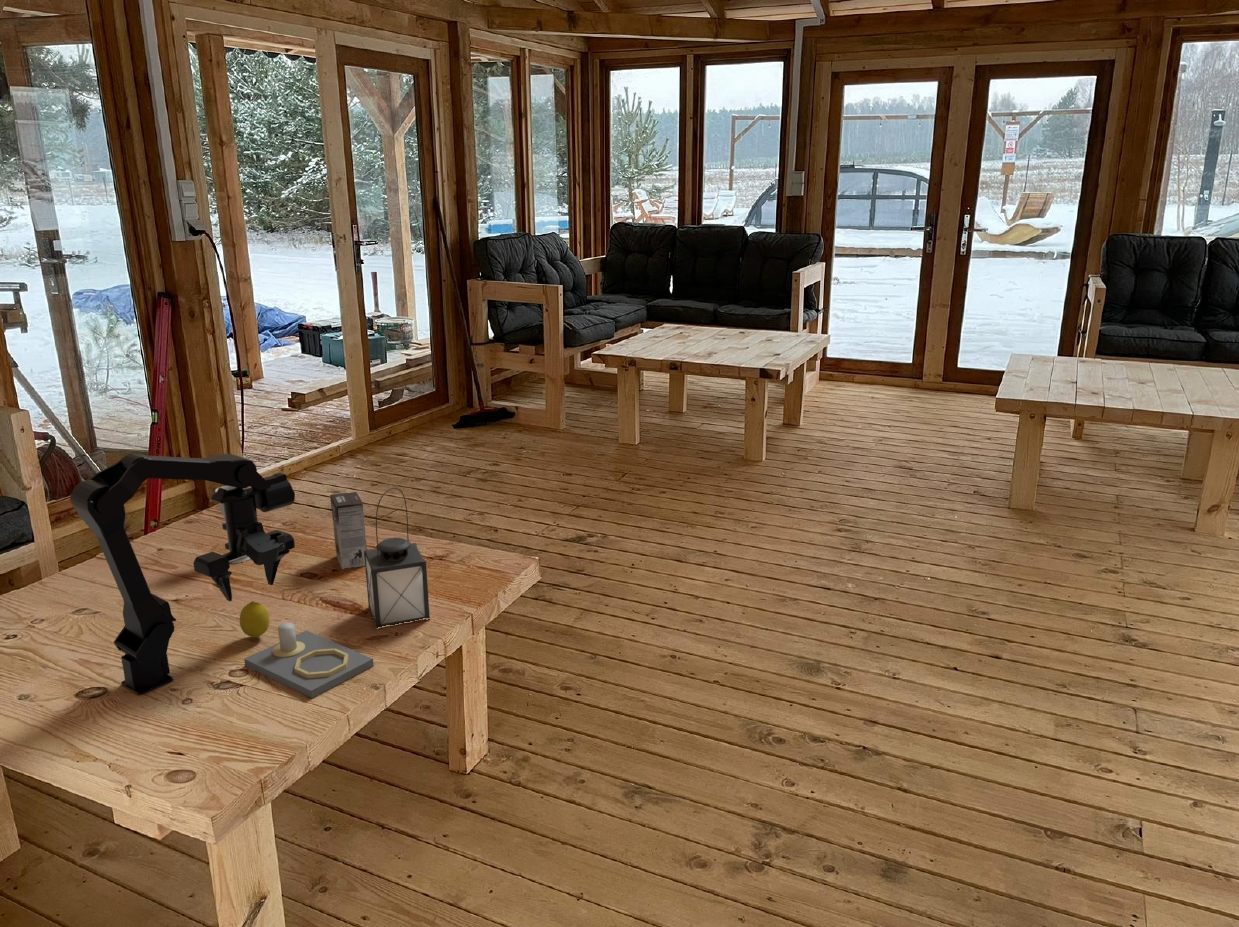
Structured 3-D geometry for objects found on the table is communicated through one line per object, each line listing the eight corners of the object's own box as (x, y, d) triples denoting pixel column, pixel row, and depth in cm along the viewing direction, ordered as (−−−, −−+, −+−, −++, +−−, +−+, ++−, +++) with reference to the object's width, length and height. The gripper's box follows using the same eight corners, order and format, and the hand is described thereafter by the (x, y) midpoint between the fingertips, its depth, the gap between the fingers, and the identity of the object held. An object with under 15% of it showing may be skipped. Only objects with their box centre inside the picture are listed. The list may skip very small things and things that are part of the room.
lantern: (420, 599, 202) (411, 478, 194) (430, 620, 192) (421, 493, 184) (368, 607, 198) (357, 484, 190) (376, 629, 188) (364, 500, 180)
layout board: (311, 698, 163) (308, 665, 161) (245, 665, 174) (240, 634, 172) (373, 665, 174) (370, 635, 172) (307, 637, 185) (303, 607, 183)
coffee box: (335, 556, 225) (329, 494, 220) (362, 552, 228) (356, 490, 223) (341, 570, 217) (335, 505, 213) (368, 565, 220) (363, 502, 215)
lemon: (261, 645, 182) (256, 609, 179) (236, 643, 183) (231, 606, 180) (276, 632, 187) (272, 597, 184) (252, 630, 188) (247, 594, 186)
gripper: (221, 542, 166) (231, 620, 170) (308, 513, 180) (315, 586, 185) (187, 529, 172) (197, 605, 176) (273, 502, 186) (281, 573, 191)
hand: (250, 592), depth 182 cm, fingers open, 9 cm apart
